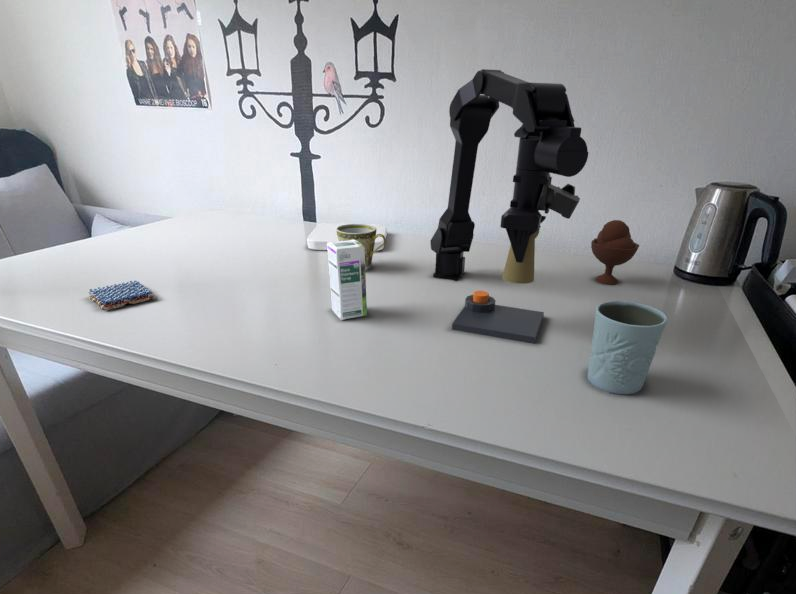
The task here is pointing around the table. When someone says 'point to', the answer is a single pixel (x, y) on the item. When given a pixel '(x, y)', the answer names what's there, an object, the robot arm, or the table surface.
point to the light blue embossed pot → (624, 345)
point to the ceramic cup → (361, 238)
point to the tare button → (480, 296)
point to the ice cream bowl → (613, 248)
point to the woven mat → (120, 295)
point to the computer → (329, 234)
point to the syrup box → (347, 278)
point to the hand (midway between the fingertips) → (521, 258)
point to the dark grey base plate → (498, 321)
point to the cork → (521, 264)
